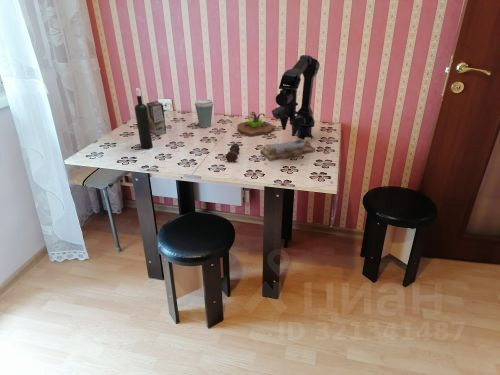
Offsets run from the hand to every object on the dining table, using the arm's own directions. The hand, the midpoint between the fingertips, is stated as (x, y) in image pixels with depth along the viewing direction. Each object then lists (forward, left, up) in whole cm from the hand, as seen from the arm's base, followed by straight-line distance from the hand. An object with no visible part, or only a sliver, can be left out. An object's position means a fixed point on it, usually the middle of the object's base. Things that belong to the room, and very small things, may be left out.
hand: (288, 132), depth 178 cm
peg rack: (0, 0, -10) cm, 10 cm away
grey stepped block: (0, 0, -9) cm, 9 cm away
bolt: (+25, -8, -11) cm, 28 cm away
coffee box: (+51, -56, -10) cm, 76 cm away
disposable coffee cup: (+24, -54, -10) cm, 60 cm away
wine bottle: (+61, -37, -10) cm, 72 cm away
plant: (+1, -35, -11) cm, 37 cm away
